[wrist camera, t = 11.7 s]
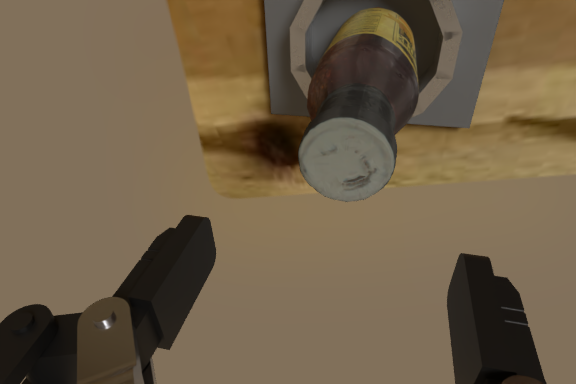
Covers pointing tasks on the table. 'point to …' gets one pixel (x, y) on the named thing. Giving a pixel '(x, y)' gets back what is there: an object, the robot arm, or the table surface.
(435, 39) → the charcoal base
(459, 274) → the robot arm
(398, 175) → the table surface
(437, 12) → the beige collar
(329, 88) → the sauce bottle
